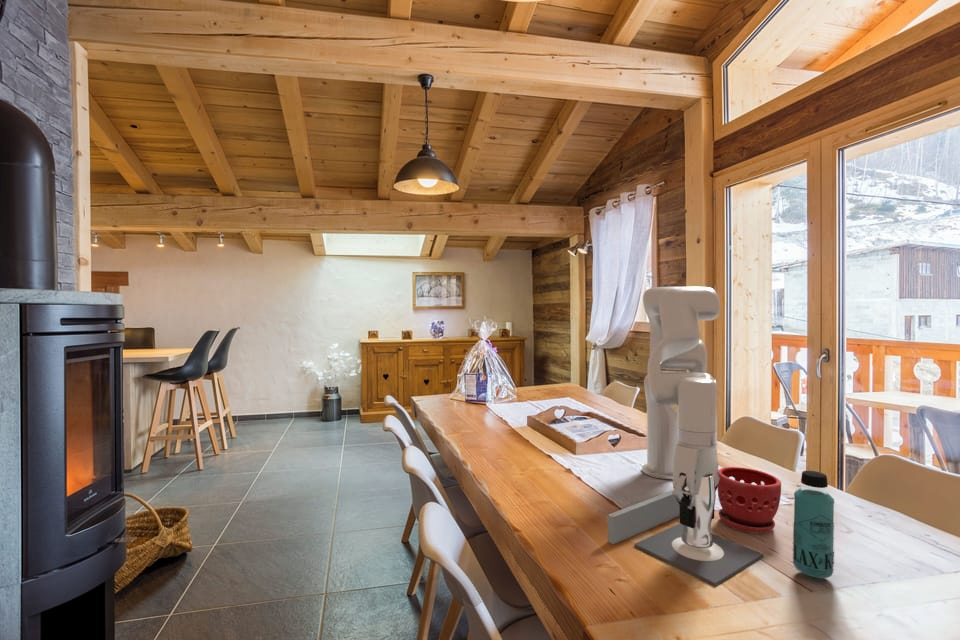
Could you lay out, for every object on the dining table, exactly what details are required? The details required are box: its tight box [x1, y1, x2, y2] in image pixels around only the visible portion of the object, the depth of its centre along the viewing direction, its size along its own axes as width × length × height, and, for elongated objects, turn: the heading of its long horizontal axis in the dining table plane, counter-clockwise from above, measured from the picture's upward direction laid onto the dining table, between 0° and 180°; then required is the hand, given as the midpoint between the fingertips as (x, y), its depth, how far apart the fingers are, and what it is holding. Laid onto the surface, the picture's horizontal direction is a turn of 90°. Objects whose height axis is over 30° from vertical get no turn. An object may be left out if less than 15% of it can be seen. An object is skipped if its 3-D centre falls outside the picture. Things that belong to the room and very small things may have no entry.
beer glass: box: [681, 473, 716, 549], centre depth 100 cm, size 7×7×15 cm
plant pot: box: [717, 466, 782, 534], centre depth 111 cm, size 13×13×12 cm
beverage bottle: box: [792, 470, 835, 579], centre depth 90 cm, size 6×7×20 cm
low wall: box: [607, 489, 680, 545], centre depth 112 cm, size 28×2×6 cm, turn 124°
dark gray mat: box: [634, 522, 764, 587], centre depth 100 cm, size 18×18×1 cm
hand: (697, 520), depth 100 cm, fingers closed on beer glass, 6 cm apart
